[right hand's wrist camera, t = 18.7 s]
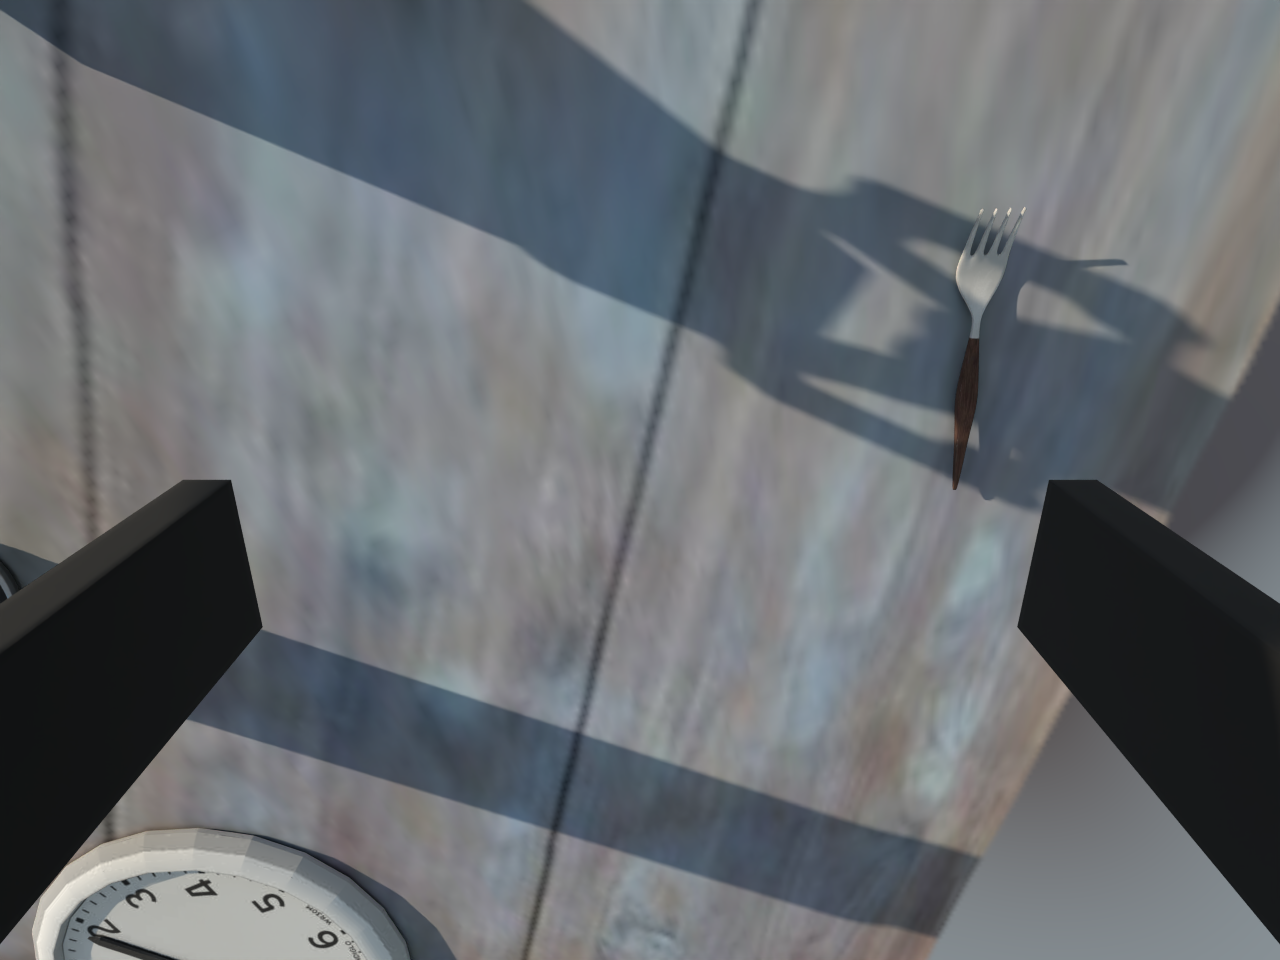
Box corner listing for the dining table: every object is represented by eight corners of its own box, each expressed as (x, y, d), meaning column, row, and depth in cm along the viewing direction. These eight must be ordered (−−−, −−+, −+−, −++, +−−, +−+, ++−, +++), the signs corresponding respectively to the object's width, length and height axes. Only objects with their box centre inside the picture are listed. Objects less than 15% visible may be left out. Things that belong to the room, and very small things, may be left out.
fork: (929, 487, 46) (941, 500, 44) (962, 207, 40) (978, 208, 38) (972, 485, 46) (986, 498, 44) (1012, 205, 40) (1030, 207, 38)
